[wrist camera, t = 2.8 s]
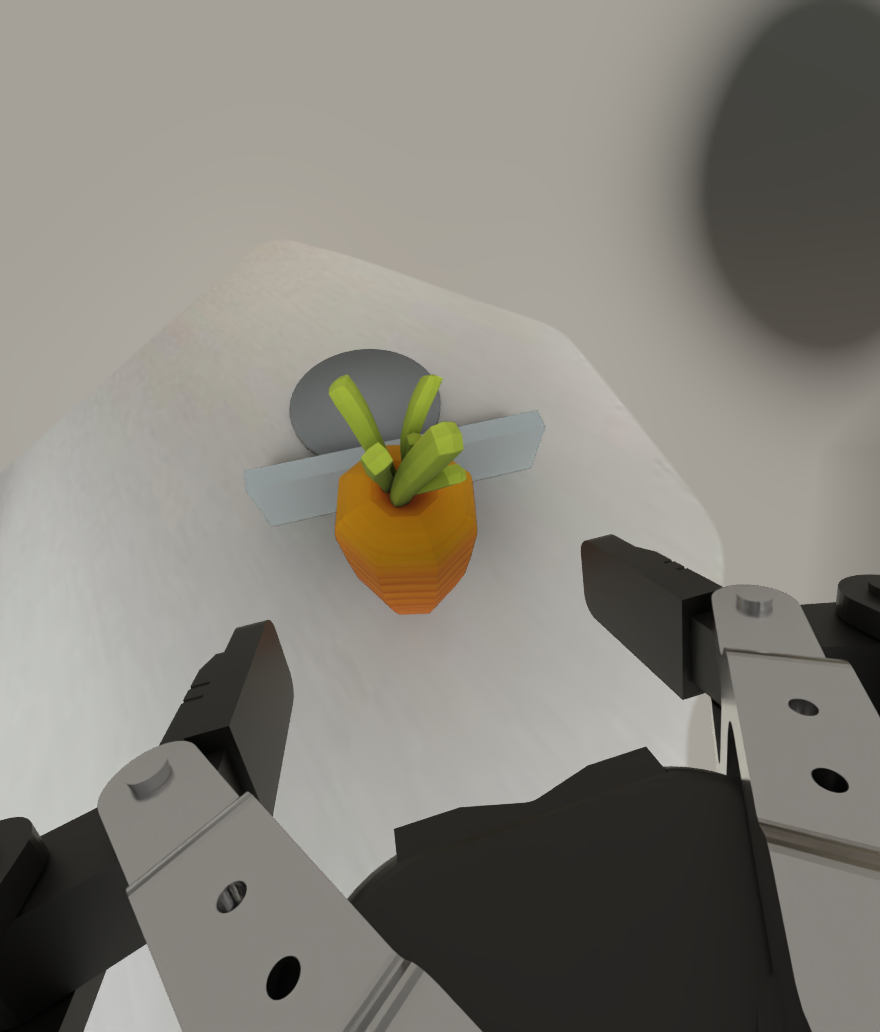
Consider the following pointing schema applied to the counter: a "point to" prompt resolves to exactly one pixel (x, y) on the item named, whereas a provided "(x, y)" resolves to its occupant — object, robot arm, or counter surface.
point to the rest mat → (381, 385)
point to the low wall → (315, 479)
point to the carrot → (405, 503)
